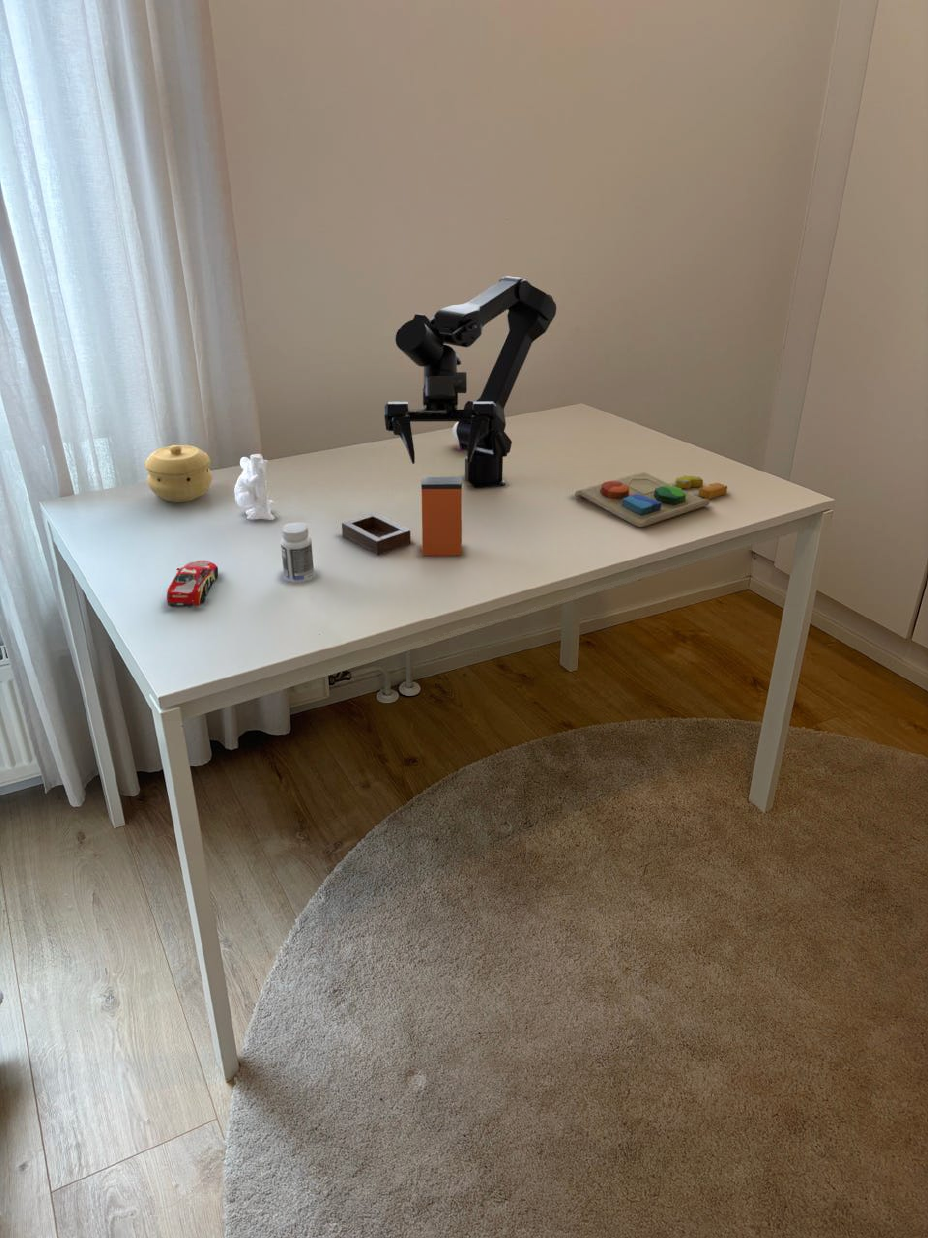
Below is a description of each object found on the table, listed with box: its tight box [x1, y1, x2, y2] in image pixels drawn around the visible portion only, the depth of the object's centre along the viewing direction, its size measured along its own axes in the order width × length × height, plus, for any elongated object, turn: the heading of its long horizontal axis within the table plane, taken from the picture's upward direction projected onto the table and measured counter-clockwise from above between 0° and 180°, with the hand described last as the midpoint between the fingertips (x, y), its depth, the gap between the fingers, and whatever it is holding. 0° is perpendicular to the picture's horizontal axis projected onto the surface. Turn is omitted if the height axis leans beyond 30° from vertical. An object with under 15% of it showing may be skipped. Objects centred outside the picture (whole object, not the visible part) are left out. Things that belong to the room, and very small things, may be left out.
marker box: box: [420, 476, 463, 557], centre depth 156 cm, size 3×6×12 cm, turn 92°
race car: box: [166, 560, 219, 608], centre depth 145 cm, size 13×5×4 cm, turn 177°
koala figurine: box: [233, 453, 275, 521], centre depth 169 cm, size 8×7×12 cm
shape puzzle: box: [574, 471, 728, 528], centre depth 179 cm, size 25×19×3 cm
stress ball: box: [452, 421, 462, 451], centre depth 204 cm, size 8×8×7 cm
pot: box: [144, 444, 213, 503], centre depth 177 cm, size 12×12×10 cm
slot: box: [341, 512, 412, 556], centre depth 162 cm, size 7×10×2 cm
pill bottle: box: [280, 522, 315, 583], centre depth 149 cm, size 5×5×8 cm
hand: (440, 462), depth 159 cm, fingers open, 9 cm apart
